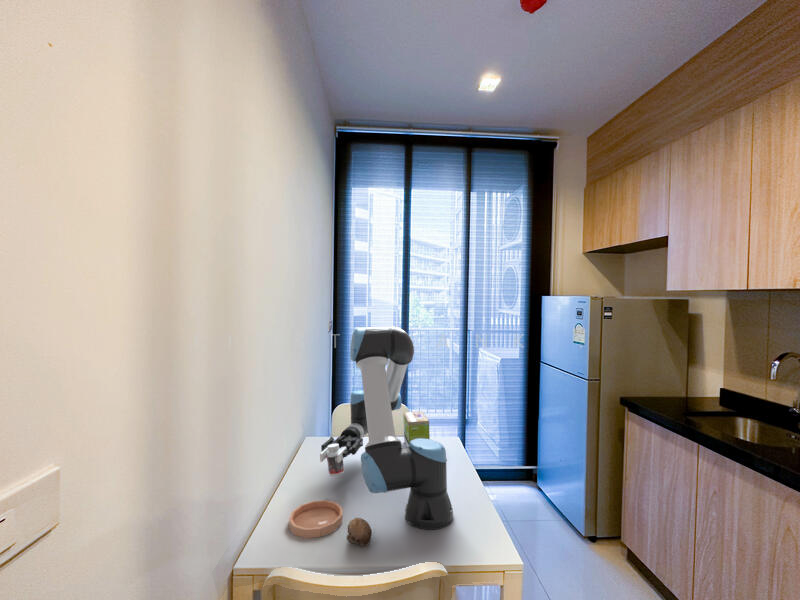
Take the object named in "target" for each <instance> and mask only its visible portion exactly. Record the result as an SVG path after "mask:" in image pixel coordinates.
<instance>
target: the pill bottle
mask: <svg viewBox="0 0 800 600" xmlns="http://www.w3.org/2000/svg"><path fill="white" fill-rule="evenodd" d="M341 450H342V449H339V444H331V445H328V451H329V452H328V453H327V458H326V461H327V469H328V475H329V476H332V477H335V476H340V475H342V474H343V473H344V472H345V467H344V466H345V465H344V460H343V459H344V458H343V459H342V460H341V462H340V463H337V454H338V453H339V452H340V451H341Z"/></svg>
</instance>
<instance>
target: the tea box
mask: <svg viewBox="0 0 800 600" xmlns="http://www.w3.org/2000/svg"><path fill="white" fill-rule="evenodd" d="M430 436H431V435H430V420H429V419H428V417H427V416H426V415H425V413H424V412H423V411H410V412H409V411H408V412H403V439H404V440H403V441H404V444H405V447H409V443H410V441H411V440H413V439H420V438H421V439H430V438H431V437H430ZM430 440H431V439H430Z"/></svg>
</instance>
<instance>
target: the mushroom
mask: <svg viewBox="0 0 800 600" xmlns="http://www.w3.org/2000/svg"><path fill="white" fill-rule="evenodd" d="M370 525H371V524H370V523H368V521H367V520H365V519H363V518H360V517H354V518H353V519H351V520H350V521H349V522H348V525H347V536H346V541H347V542H348V543H350V544H354V543H355V544H357V545H358V546H360V547H366V546H368V545H369V544H370V542H371V541H372V536H373V531H372V527H371V526H370Z"/></svg>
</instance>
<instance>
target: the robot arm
mask: <svg viewBox="0 0 800 600" xmlns="http://www.w3.org/2000/svg"><path fill="white" fill-rule="evenodd" d="M350 340H351V342H350V351H349V354H350V361H351V362H355V366H356V368H357V369H359V370H360V372H361V381H362V382H361V383H362V390H361V389H359V390H353V391H352V392H351V393H350V403H349V404H350V424H349V425H348V426H347V427H346V428H345V429H343V431H342V432H341V434H340V435H339V436H338V437H337V438H334V437H333V436H330V437H329V439H328V440H326V441H325V442H324V443H323V444H321V446H320V447H321V452H320V454H319V462H320V463H321V462H324V461H325V460H326V459H327V453H328V452H329V451H328V445H331V444H339V450H341V451H340V452H339V453H338V454H337V463H340V462H341V460H342V459H344V458H347V457H348V456H350V455H352V456H354V455H355V454H357V452H358V451H359V450H360V448H361V447H363V446H364V439H363V438H364V437H365V436H367V434H368V442H367V443H366V445H365V446H364V450H365V451H363V452H362V453H361V455H360V464H361V466H360V467H361V471H362V475H363V479H364V482H365V485H366V487H367V489H368V491H369V492H370V493H373V494H379V493H380V494H381V493H383V494H384V493H388V492H392V491H400V490H406V489H410V491H409V496H408V499H407V503H406V505H405V509H404V510H405V512H404V513H405V518H406V520H407V522H408V523H409V524H410V525H411V526H414V527H415V528H418V529H422V530H438V529H441V528H445V527H447V526H448V525H449V524H450V523H452V521H453V520H454V511H453V510H454V509H453V505H452V502H451V499H450V497H449V494H448V484H447V483H448V482H447V478H448V477H447V462H448V459H447V452H446V447H445V446H444V445H443V443H441V442H439V441H437V440H434V439H421V438H420V439H413V440H411V441H410V443H409V447H407V446H405V447H403V446H402V441H401V440H400V439H399V438H397V436H396V431H395V425H394V424H395V423H394V418H393V411H397V410H400V409H401V408H402V396H401V393H400V392H401V388H402V384H403V381H404V378H405V374H406V373H407V369H408V366H409V364H410V363H412V361H413V358H414V354H415V346H414V342H413V339H412V338H411V337H410V335H409V334H408V333H407V332H406V331H405V330H403V329H402V328H400V327H396V326H386V327H383V326H382V327H362V328H360V327H359V328H356V329H354V330H353V332H352V335H351V339H350ZM341 448H342V449H341Z"/></svg>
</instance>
